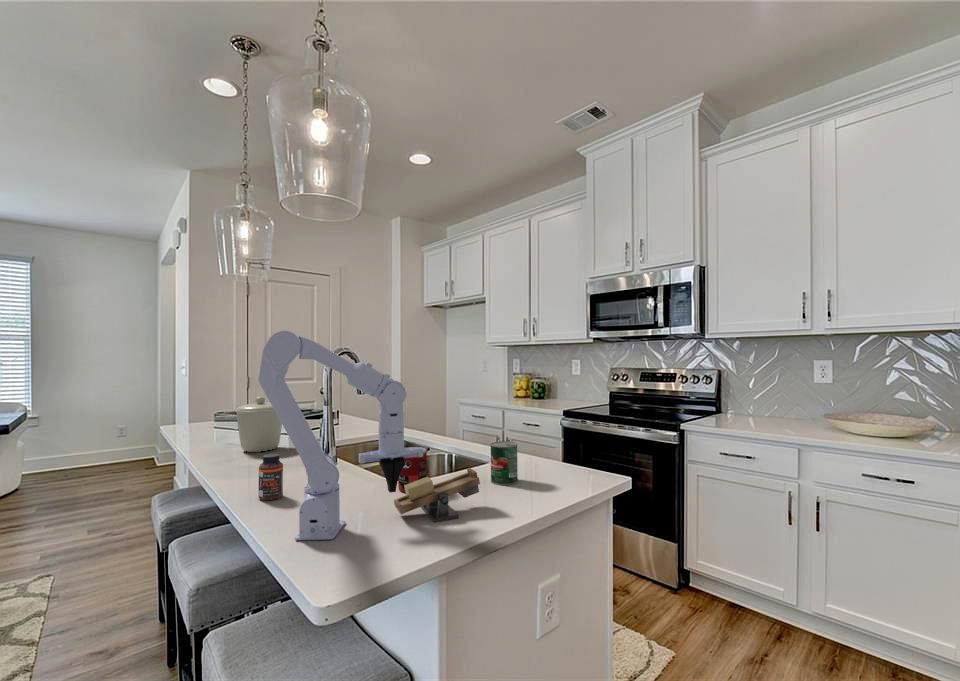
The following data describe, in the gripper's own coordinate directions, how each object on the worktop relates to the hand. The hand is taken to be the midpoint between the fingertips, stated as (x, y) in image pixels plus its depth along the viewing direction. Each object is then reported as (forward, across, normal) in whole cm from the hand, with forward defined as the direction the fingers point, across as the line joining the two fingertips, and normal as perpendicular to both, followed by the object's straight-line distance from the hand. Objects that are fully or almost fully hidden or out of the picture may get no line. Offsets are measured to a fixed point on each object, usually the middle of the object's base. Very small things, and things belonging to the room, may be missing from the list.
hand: (391, 491), depth 106 cm
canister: (+7, -31, +96) cm, 101 cm away
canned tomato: (+7, +36, +16) cm, 40 cm away
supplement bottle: (+7, -26, +29) cm, 40 cm away
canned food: (+7, +10, +20) cm, 23 cm away
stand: (+6, +11, 0) cm, 13 cm away
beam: (+4, +12, 0) cm, 12 cm away
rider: (+2, +7, 0) cm, 7 cm away
